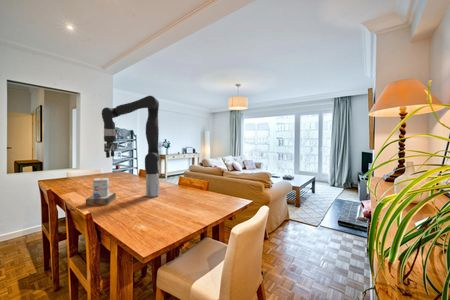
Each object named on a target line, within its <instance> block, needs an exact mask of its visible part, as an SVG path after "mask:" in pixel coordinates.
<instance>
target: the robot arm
mask: <svg viewBox="0 0 450 300" xmlns="http://www.w3.org/2000/svg"><path fill="white" fill-rule="evenodd" d="M159 108H160V102H159V100H158V98H157V97H155V96H154V95H147V96H144V97H142V98H140V99H137V100H134V101H131V102H127V103H124V104H123V103H122V104H120V105H119V104H118V105H117V106H115V107H113V108H110V107H104V108H102V109H101V118H102V121H103V142H104V144H103V147H104V148H103V149H104V150H103V151H104V152H105V158H107V159H108V158H110V157H112V158H113V157H115V151H116V150H117V149H116V141H117V139H116V137H117V136H116V135H117V134H116V133H117V132H116V122H114V120H113V119H115V118H118V117H120V116H124V115H127V114H131V113H134V112H135V111H138V110H141V109H147V119H146V123H145V138H146V142H147V153H146V154H145V157H144V171H145V196H146V197H147V198H155V197H159V195H160V181H159V180H160V178H159V177H160V174H159V173H160V172H159V171H160V170H159V165H158V164H159V160H160V154H159V153H160V151H159V138H160V137H159V135H160V133H159V131H160V130H159Z"/></svg>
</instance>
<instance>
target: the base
mask: <svg viewBox="0 0 450 300" xmlns="http://www.w3.org/2000/svg"><path fill="white" fill-rule="evenodd" d="M116 197H117V193H116V192H109V195H108V196H105V197H93V195H91V196H90V197H87V198H86V199H85V206H108V205H109V204H111V203H112V202H113V201H115V200H116V199H117V198H116Z"/></svg>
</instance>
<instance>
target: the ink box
mask: <svg viewBox="0 0 450 300" xmlns="http://www.w3.org/2000/svg"><path fill="white" fill-rule="evenodd" d="M109 193H110V179H109V177H105V178H103V177H102V178H100V177H99V178H98V177H97V178H96V177H95V178H94V179H93V180H92V196H93V197H105V196H108V195H109Z"/></svg>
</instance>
